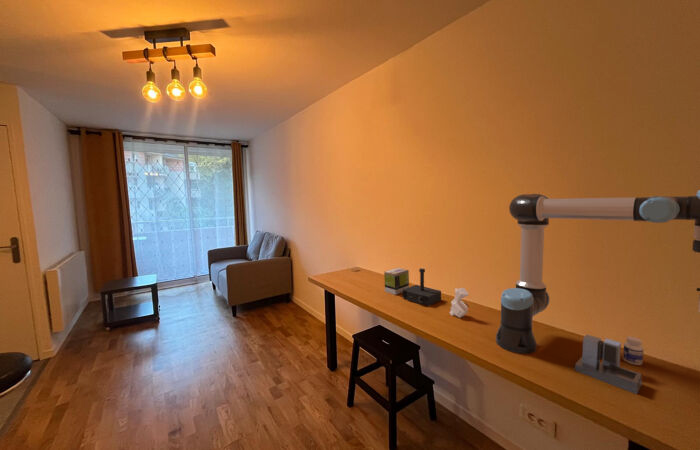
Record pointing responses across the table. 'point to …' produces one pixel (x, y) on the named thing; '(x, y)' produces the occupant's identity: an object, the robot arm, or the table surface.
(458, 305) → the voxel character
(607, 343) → the long gray rectangular block
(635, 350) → the pill bottle
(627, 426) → the table surface
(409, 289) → the dark box with post
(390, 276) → the tea box
